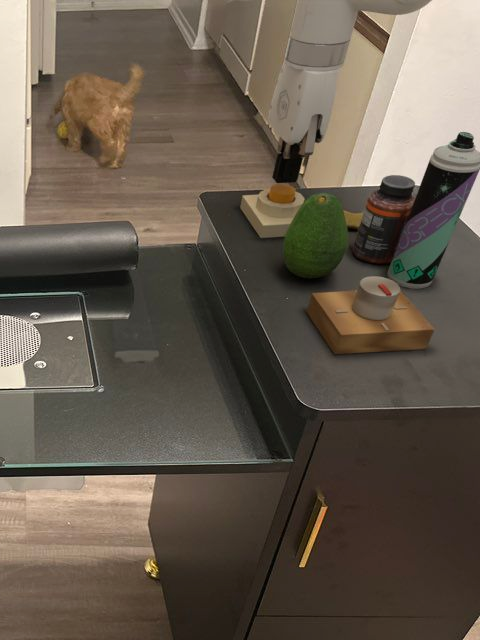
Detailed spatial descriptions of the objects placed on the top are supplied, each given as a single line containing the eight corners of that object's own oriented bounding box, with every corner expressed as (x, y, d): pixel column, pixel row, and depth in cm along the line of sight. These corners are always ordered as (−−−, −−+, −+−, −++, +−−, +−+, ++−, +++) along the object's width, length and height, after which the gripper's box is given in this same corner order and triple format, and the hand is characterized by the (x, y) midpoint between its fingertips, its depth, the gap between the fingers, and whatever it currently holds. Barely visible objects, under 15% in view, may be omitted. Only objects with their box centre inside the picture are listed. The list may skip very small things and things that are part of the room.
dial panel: (391, 307, 94) (399, 286, 92) (426, 349, 87) (435, 328, 85) (306, 312, 94) (312, 291, 92) (334, 354, 88) (341, 333, 85)
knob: (345, 301, 91) (354, 275, 88) (380, 298, 91) (390, 272, 88) (361, 321, 87) (371, 295, 85) (398, 318, 87) (408, 292, 85)
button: (288, 193, 112) (290, 183, 111) (296, 204, 109) (299, 193, 108) (264, 195, 112) (267, 184, 111) (272, 205, 109) (275, 195, 108)
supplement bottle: (394, 247, 105) (422, 173, 98) (398, 268, 101) (427, 192, 94) (350, 242, 107) (373, 169, 100) (351, 262, 103) (376, 188, 95)
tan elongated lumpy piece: (409, 239, 109) (416, 234, 106) (313, 232, 113) (317, 228, 110) (412, 216, 109) (419, 212, 106) (316, 211, 113) (320, 206, 110)
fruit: (345, 291, 97) (372, 209, 90) (284, 291, 98) (306, 211, 90) (327, 260, 104) (351, 181, 96) (270, 261, 104) (289, 182, 96)
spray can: (379, 269, 101) (430, 127, 88) (417, 265, 101) (474, 123, 88) (400, 290, 97) (457, 145, 84) (440, 286, 97) (503, 141, 84)
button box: (289, 204, 117) (295, 181, 114) (313, 235, 109) (320, 210, 107) (239, 207, 117) (244, 184, 114) (260, 238, 109) (265, 214, 107)
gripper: (268, 37, 103) (243, 161, 114) (309, 70, 91) (276, 204, 103) (322, 34, 102) (291, 158, 114) (369, 67, 91) (329, 201, 103)
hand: (284, 180), depth 109 cm, fingers closed
